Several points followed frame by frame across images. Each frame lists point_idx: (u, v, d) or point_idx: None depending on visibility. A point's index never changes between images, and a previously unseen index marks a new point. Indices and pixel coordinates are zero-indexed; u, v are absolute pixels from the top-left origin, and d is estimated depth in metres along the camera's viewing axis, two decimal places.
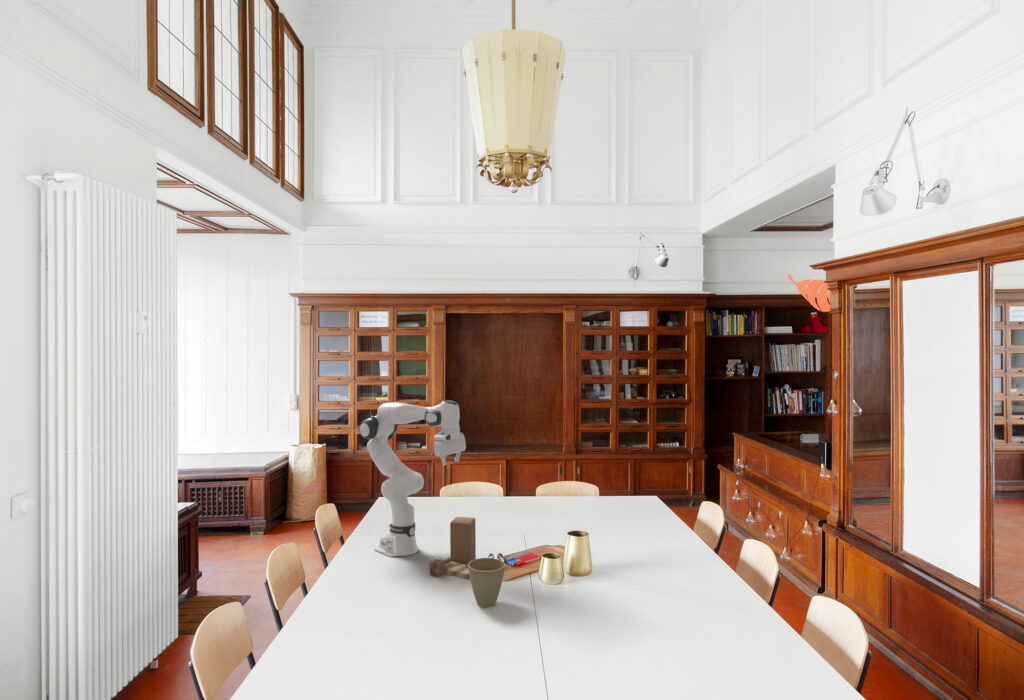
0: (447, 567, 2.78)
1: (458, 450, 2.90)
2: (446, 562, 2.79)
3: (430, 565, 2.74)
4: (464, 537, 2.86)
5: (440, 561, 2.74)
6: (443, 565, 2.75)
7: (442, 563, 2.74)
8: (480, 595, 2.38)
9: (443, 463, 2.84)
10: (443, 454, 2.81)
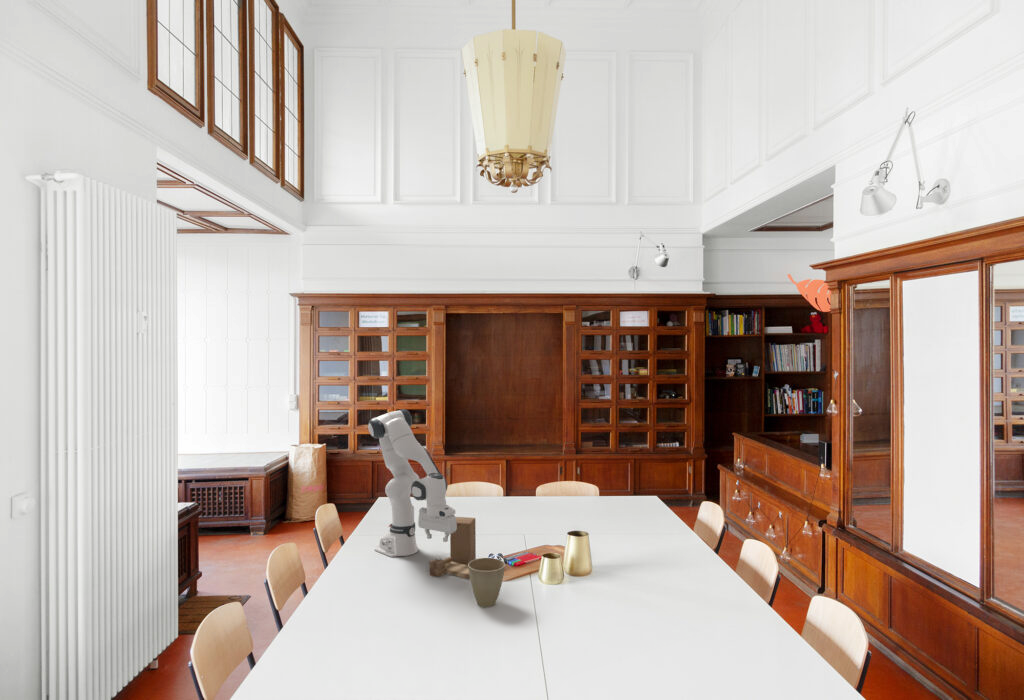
0: (447, 567, 2.78)
1: None
2: (446, 562, 2.79)
3: (430, 565, 2.74)
4: (464, 537, 2.86)
5: (440, 561, 2.74)
6: (443, 565, 2.75)
7: (442, 563, 2.74)
8: (480, 595, 2.38)
9: (446, 539, 2.71)
10: None
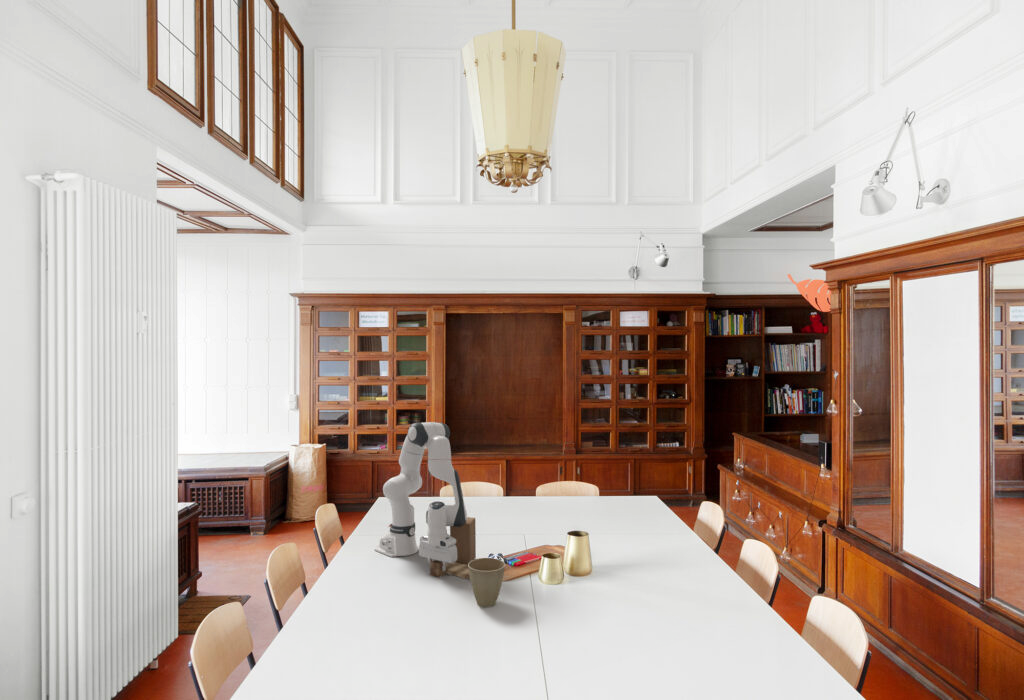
0: (447, 567, 2.78)
1: None
2: None
3: (431, 565, 2.73)
4: (464, 537, 2.85)
5: (441, 561, 2.74)
6: None
7: None
8: (480, 595, 2.38)
9: (444, 568, 2.72)
10: None
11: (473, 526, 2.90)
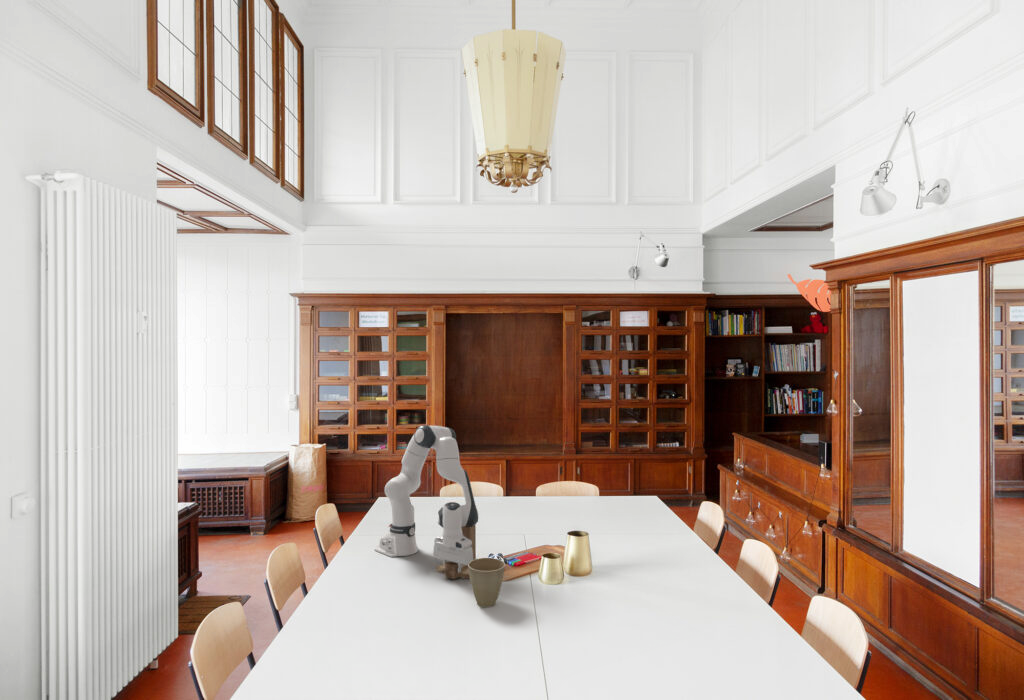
0: None
1: None
2: None
3: (446, 567, 2.69)
4: None
5: (456, 563, 2.70)
6: None
7: None
8: (480, 595, 2.38)
9: (459, 570, 2.68)
10: None
11: (473, 526, 2.91)
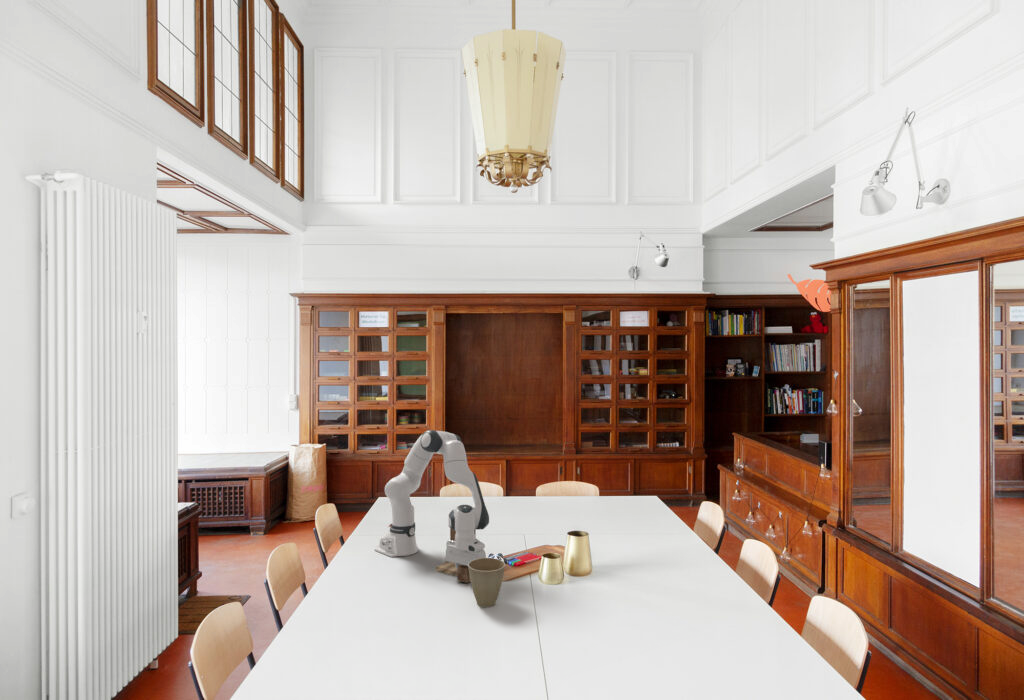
0: (447, 567, 2.78)
1: None
2: None
3: (458, 571, 2.65)
4: None
5: None
6: None
7: None
8: (480, 595, 2.38)
9: None
10: None
11: None
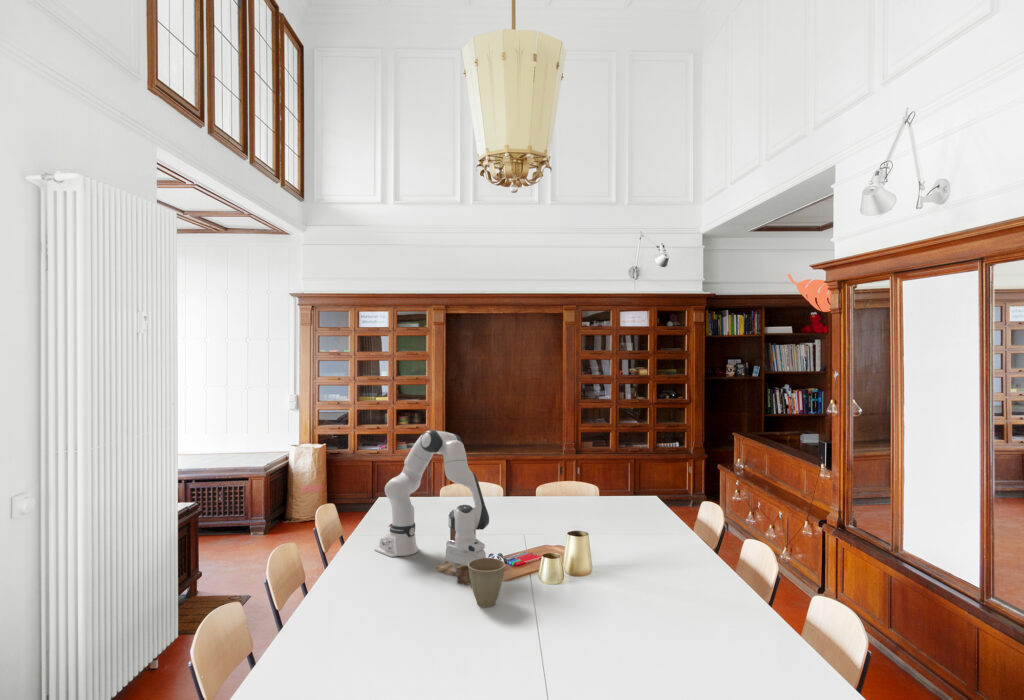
0: (447, 567, 2.78)
1: None
2: None
3: (458, 572, 2.65)
4: None
5: (468, 568, 2.66)
6: None
7: None
8: (480, 595, 2.38)
9: None
10: None
11: None
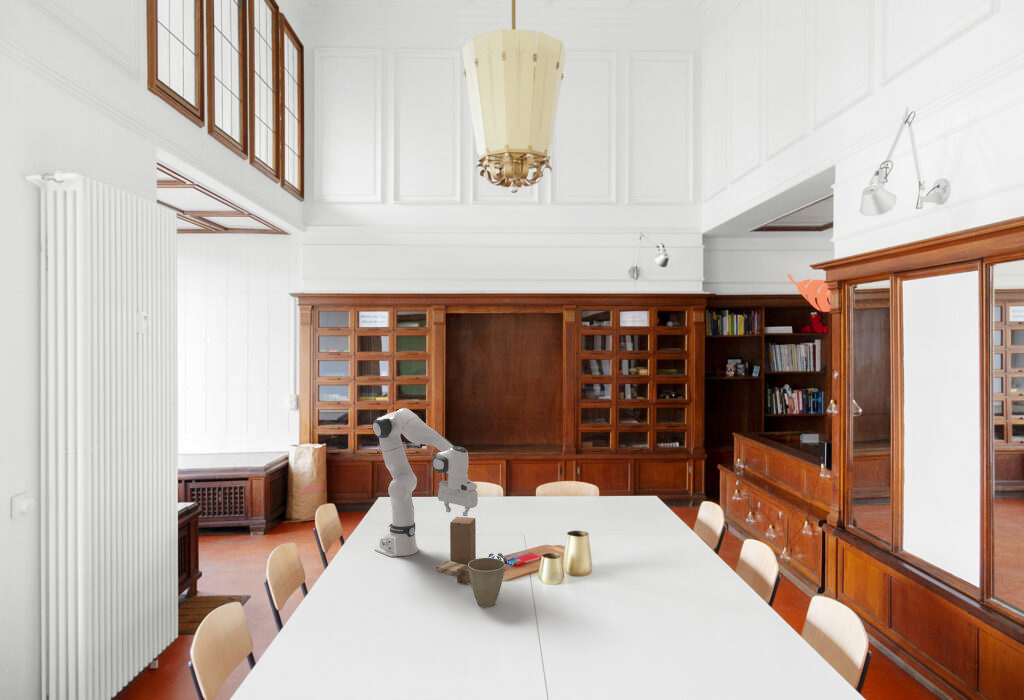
0: (447, 567, 2.78)
1: None
2: None
3: (458, 572, 2.65)
4: (464, 537, 2.86)
5: (468, 568, 2.66)
6: None
7: None
8: (480, 595, 2.38)
9: (466, 514, 2.68)
10: None
11: (473, 526, 2.91)
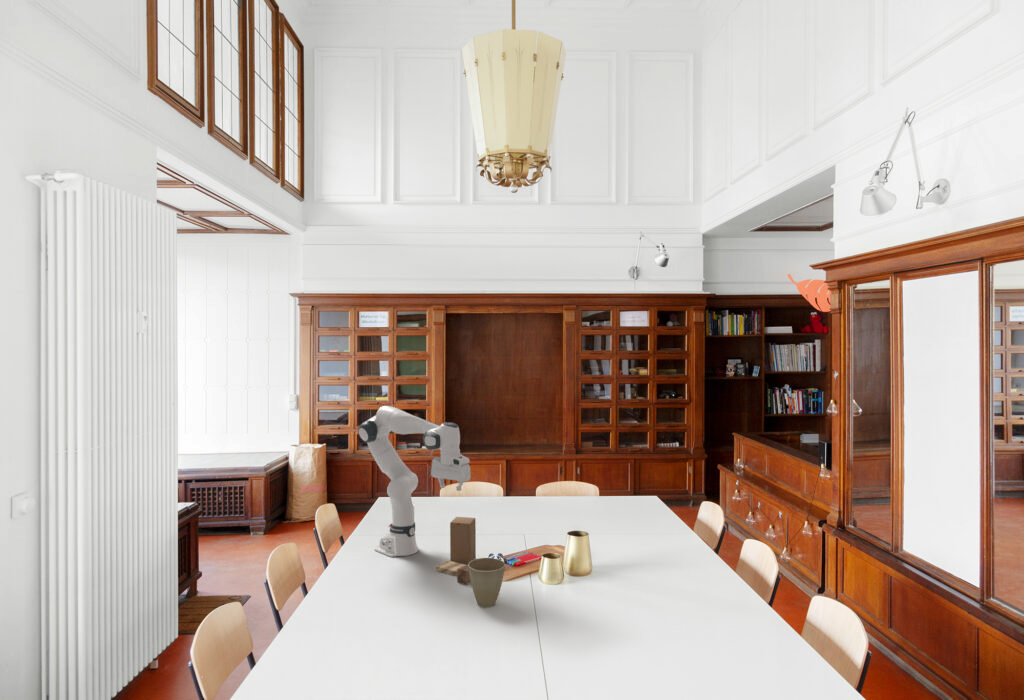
0: (447, 567, 2.78)
1: None
2: None
3: (458, 572, 2.65)
4: (464, 537, 2.86)
5: (468, 568, 2.66)
6: None
7: None
8: (480, 595, 2.38)
9: (460, 488, 2.70)
10: None
11: (473, 526, 2.91)
